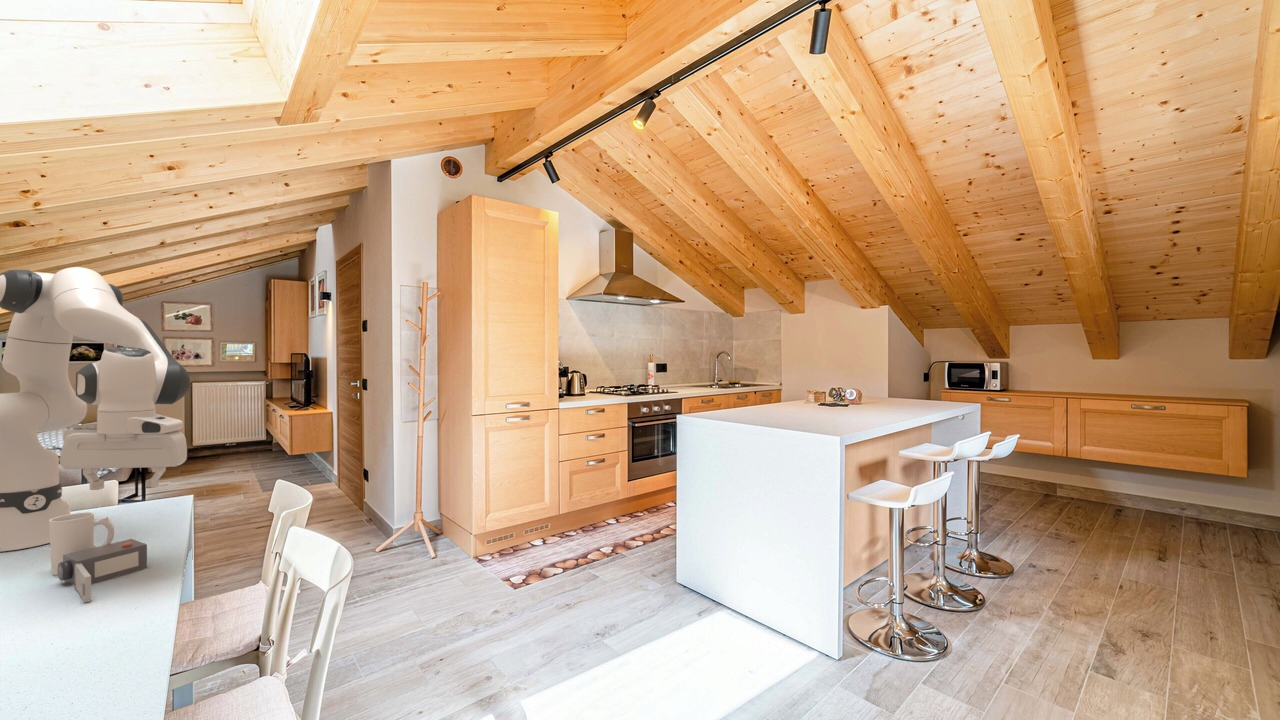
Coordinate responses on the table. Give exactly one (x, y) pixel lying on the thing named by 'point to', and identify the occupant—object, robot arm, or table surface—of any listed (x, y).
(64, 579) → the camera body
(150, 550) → the table surface
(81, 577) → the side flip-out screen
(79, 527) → the mug
